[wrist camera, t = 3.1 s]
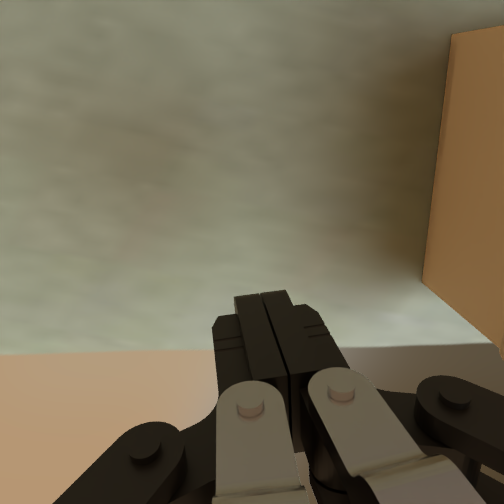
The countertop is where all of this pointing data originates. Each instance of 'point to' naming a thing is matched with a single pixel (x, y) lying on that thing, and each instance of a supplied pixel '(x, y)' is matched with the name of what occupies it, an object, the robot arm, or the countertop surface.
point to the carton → (470, 185)
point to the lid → (502, 348)
